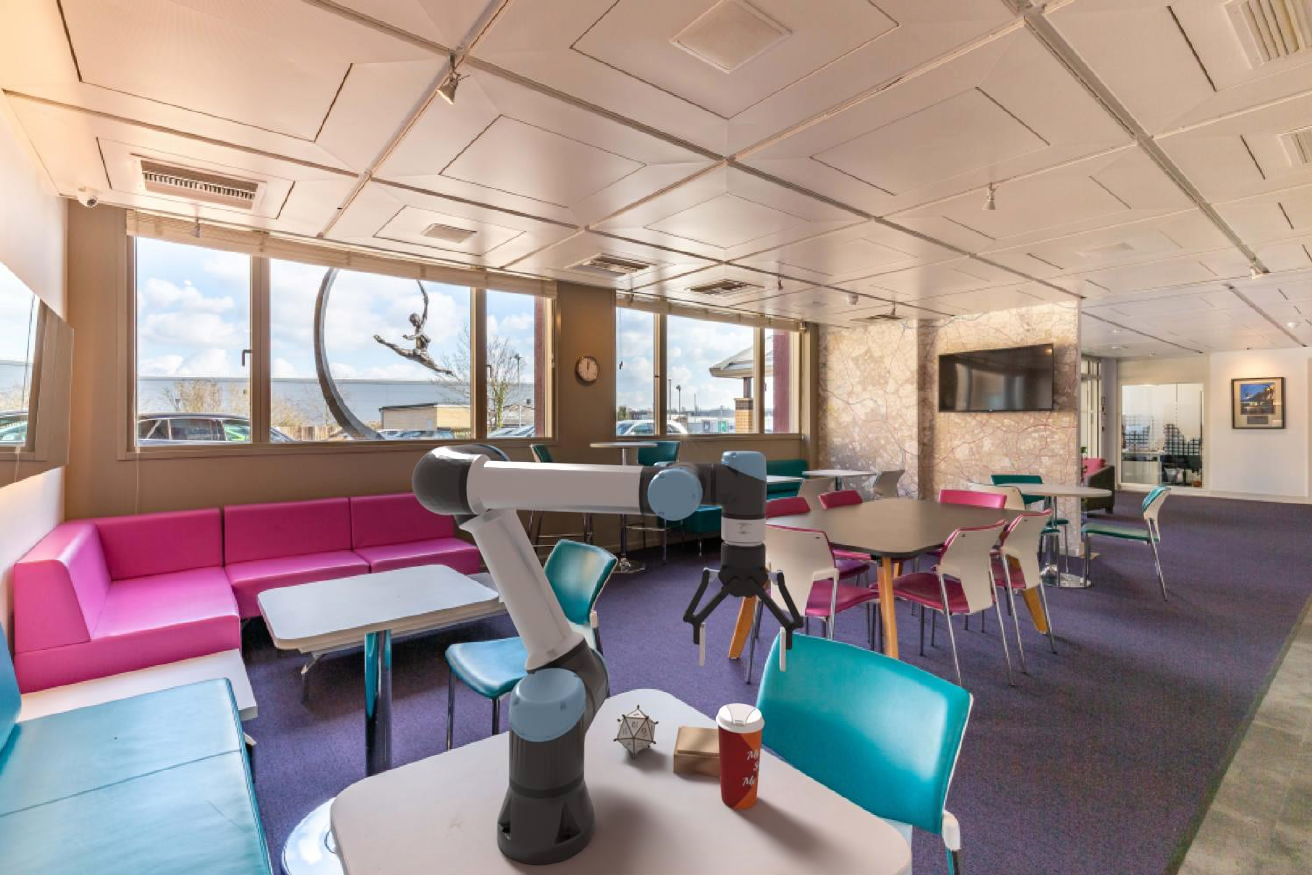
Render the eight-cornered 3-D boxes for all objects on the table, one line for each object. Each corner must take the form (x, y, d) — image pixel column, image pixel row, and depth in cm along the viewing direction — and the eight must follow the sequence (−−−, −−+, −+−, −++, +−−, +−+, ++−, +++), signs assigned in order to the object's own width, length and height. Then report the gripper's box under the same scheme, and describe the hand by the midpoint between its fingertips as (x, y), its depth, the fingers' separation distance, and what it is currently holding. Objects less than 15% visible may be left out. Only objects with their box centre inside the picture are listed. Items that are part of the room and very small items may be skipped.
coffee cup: (762, 817, 99) (763, 727, 99) (712, 810, 101) (713, 721, 100) (763, 787, 107) (765, 703, 107) (717, 781, 109) (718, 699, 109)
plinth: (673, 772, 112) (673, 750, 111) (678, 743, 121) (678, 724, 121) (727, 777, 110) (728, 755, 110) (728, 748, 120) (729, 728, 120)
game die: (633, 764, 121) (637, 710, 126) (665, 762, 116) (669, 707, 122) (601, 756, 115) (607, 700, 121) (634, 754, 111) (639, 696, 116)
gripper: (668, 543, 101) (666, 669, 101) (821, 548, 97) (819, 679, 98) (673, 535, 108) (671, 652, 109) (815, 540, 105) (814, 661, 105)
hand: (741, 665), depth 103 cm, fingers open, 13 cm apart
